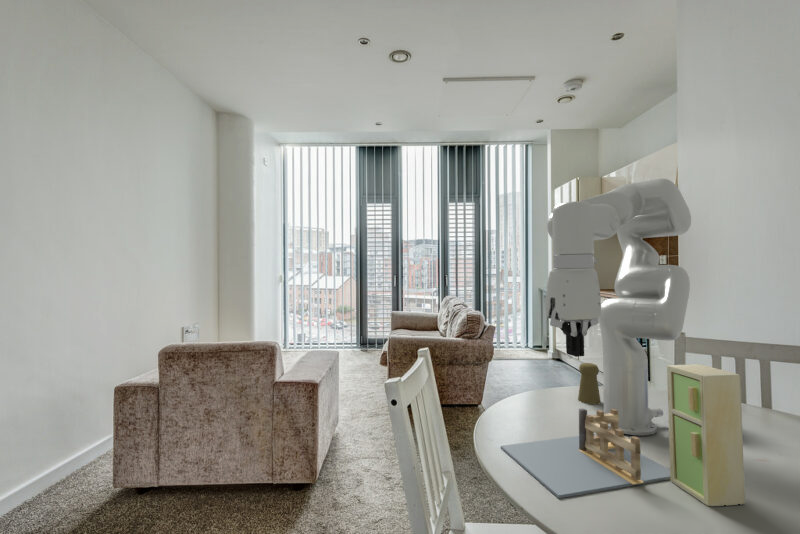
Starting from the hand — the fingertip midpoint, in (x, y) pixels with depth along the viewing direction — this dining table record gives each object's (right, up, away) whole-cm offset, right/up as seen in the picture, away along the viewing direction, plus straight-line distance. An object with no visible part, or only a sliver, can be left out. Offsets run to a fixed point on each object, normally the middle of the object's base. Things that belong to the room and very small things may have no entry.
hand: (575, 354), depth 76 cm
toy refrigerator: (+17, -21, -11) cm, 29 cm away
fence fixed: (+7, -21, +5) cm, 23 cm away
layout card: (+1, -21, 0) cm, 21 cm away
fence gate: (+5, -20, -3) cm, 21 cm away
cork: (+21, -22, +36) cm, 47 cm away
